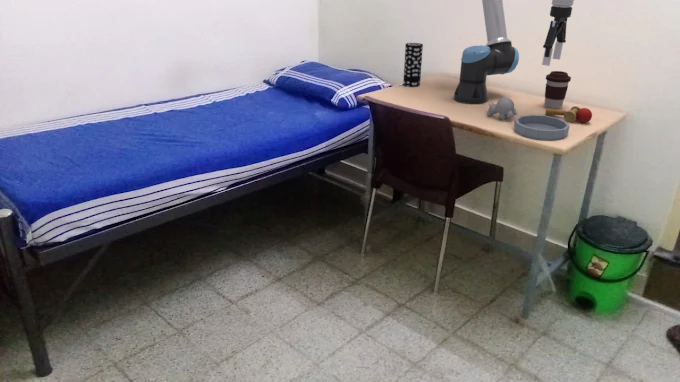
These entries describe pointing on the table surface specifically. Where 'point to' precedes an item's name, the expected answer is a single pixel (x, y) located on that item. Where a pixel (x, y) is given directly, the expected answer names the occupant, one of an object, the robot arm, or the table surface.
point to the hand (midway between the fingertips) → (551, 62)
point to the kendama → (572, 114)
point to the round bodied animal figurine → (502, 109)
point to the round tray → (541, 127)
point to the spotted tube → (412, 64)
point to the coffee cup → (556, 89)
